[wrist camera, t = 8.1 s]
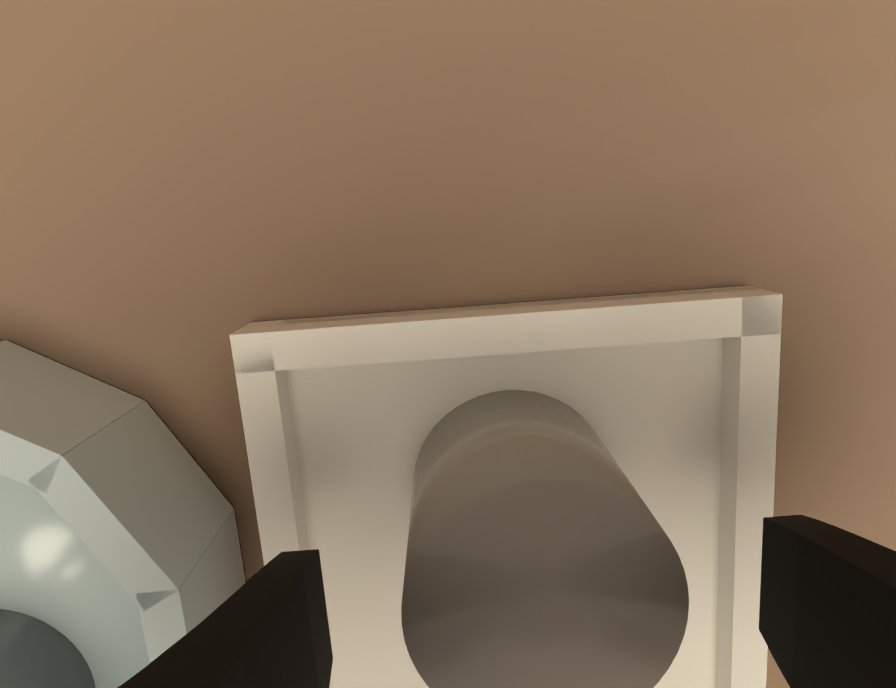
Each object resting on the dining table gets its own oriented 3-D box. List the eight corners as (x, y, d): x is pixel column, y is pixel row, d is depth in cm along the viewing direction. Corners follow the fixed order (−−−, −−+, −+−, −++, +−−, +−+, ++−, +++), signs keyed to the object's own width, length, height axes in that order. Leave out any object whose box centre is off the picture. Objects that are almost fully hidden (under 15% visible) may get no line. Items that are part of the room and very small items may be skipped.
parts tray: (731, 835, 17) (757, 890, 16) (327, 864, 17) (317, 922, 16) (748, 285, 14) (782, 294, 12) (250, 322, 14) (229, 334, 12)
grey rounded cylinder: (610, 564, 14) (687, 725, 10) (421, 578, 15) (413, 745, 10) (607, 382, 14) (690, 469, 9) (405, 397, 14) (388, 491, 9)
